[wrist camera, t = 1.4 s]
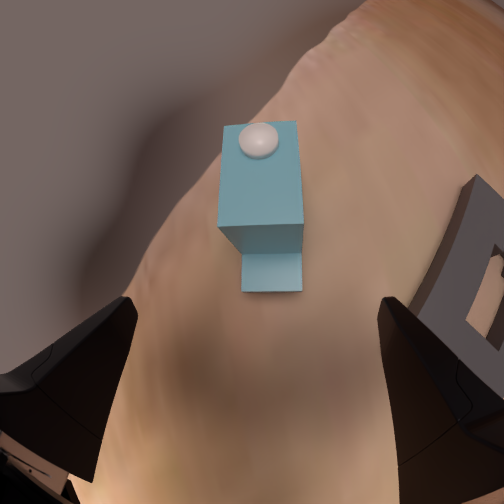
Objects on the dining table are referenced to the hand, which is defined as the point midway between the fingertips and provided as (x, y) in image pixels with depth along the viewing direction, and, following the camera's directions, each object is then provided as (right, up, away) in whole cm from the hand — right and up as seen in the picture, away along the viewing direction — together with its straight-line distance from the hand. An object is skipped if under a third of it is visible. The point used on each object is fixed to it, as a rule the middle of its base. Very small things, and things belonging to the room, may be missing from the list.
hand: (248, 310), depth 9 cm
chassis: (+22, -3, +9) cm, 24 cm away
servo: (+2, +4, +14) cm, 15 cm away
